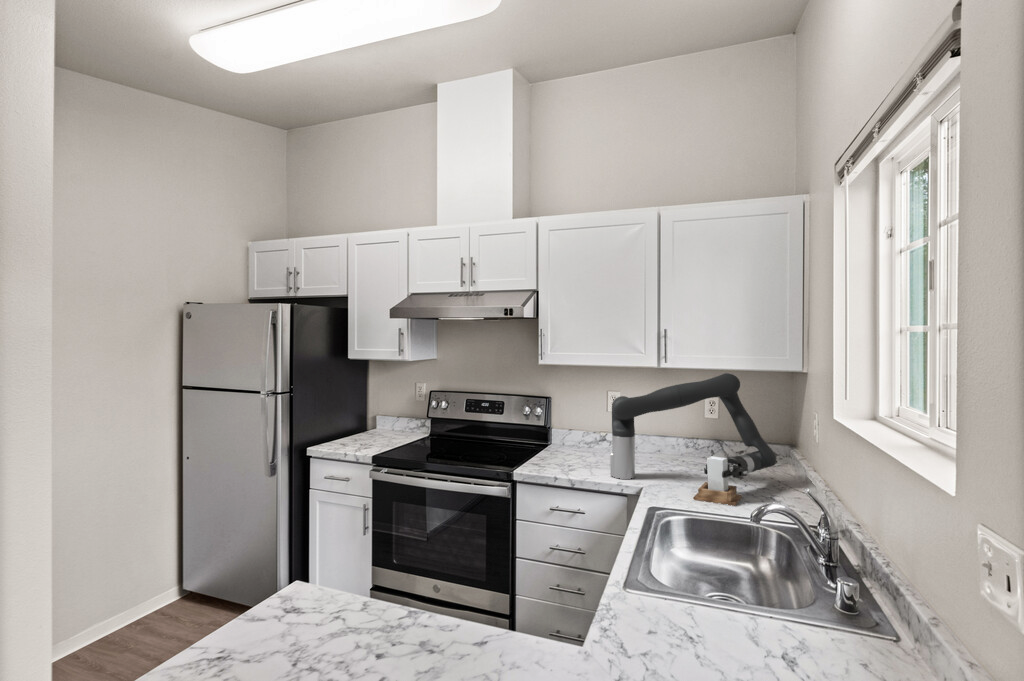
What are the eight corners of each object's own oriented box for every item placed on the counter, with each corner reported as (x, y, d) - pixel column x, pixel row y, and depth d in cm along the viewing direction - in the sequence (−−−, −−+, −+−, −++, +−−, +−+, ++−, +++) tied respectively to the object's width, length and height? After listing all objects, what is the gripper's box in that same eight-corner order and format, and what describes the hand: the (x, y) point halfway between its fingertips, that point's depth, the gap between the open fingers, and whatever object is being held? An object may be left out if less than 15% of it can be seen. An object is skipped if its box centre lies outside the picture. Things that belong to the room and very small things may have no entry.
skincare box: (728, 491, 198) (728, 457, 198) (723, 494, 194) (723, 460, 194) (712, 488, 202) (711, 455, 202) (706, 491, 199) (706, 457, 198)
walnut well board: (693, 499, 197) (693, 488, 197) (701, 491, 207) (701, 481, 207) (735, 506, 189) (735, 494, 189) (741, 497, 199) (741, 486, 199)
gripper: (721, 452, 212) (696, 459, 202) (757, 459, 201) (732, 466, 191) (721, 472, 213) (696, 479, 202) (757, 479, 201) (732, 487, 191)
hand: (714, 472), depth 197 cm, fingers closed on skincare box, 6 cm apart
